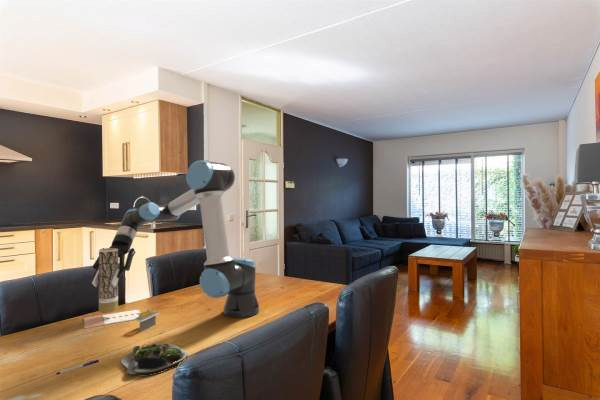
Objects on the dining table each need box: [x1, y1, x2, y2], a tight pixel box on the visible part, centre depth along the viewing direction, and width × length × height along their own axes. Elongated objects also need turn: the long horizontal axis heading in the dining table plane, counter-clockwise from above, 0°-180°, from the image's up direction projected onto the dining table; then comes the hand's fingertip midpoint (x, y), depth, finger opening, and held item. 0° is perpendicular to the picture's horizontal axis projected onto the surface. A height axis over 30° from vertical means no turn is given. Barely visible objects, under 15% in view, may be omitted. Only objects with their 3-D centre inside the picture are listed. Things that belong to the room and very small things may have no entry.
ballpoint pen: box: [55, 359, 100, 375], centre depth 97 cm, size 10×1×1 cm, turn 139°
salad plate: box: [121, 343, 188, 376], centre depth 102 cm, size 19×18×5 cm
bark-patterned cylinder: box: [98, 247, 119, 314], centre depth 137 cm, size 7×7×25 cm
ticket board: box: [83, 309, 141, 329], centre depth 137 cm, size 12×20×1 cm, turn 123°
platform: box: [134, 309, 160, 333], centre depth 128 cm, size 12×18×7 cm, turn 164°
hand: (103, 284), depth 134 cm, fingers closed on bark-patterned cylinder, 7 cm apart
